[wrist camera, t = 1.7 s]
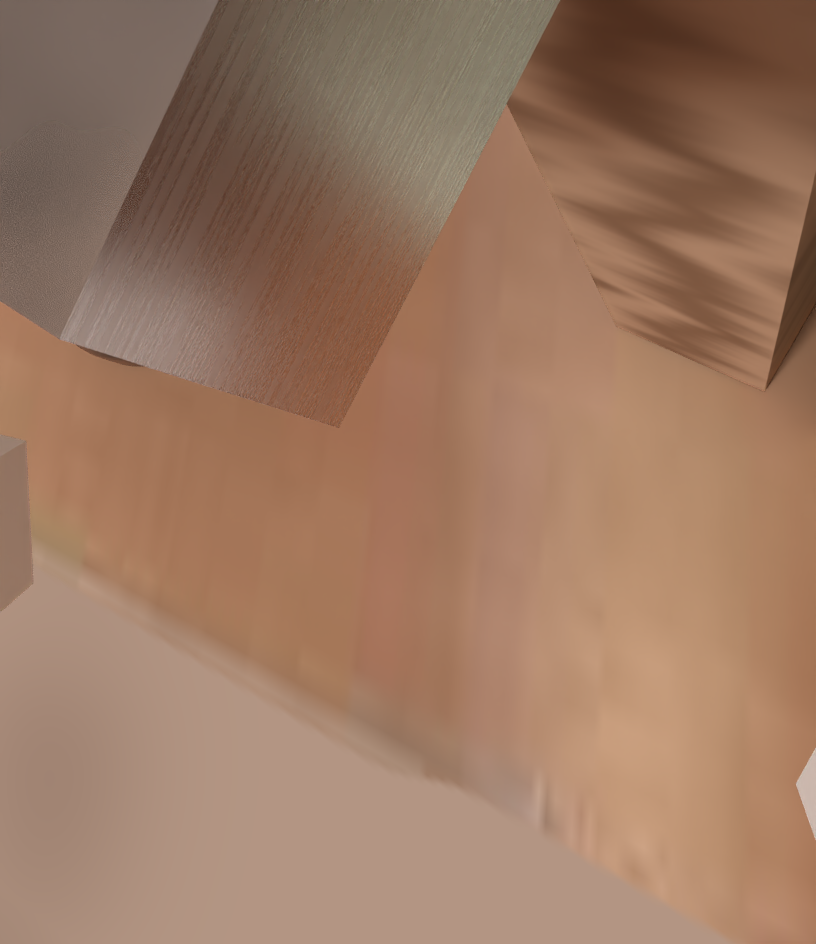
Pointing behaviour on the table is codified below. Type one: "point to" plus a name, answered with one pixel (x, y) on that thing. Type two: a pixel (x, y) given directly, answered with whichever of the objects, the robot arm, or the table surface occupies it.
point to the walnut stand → (685, 167)
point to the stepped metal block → (242, 175)
